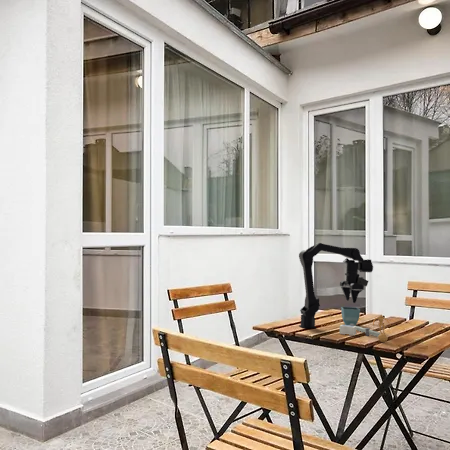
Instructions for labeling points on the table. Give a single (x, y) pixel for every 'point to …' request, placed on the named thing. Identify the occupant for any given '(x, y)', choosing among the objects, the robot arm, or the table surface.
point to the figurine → (382, 336)
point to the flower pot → (350, 315)
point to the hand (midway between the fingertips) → (350, 301)
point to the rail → (366, 331)
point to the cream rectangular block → (347, 329)
